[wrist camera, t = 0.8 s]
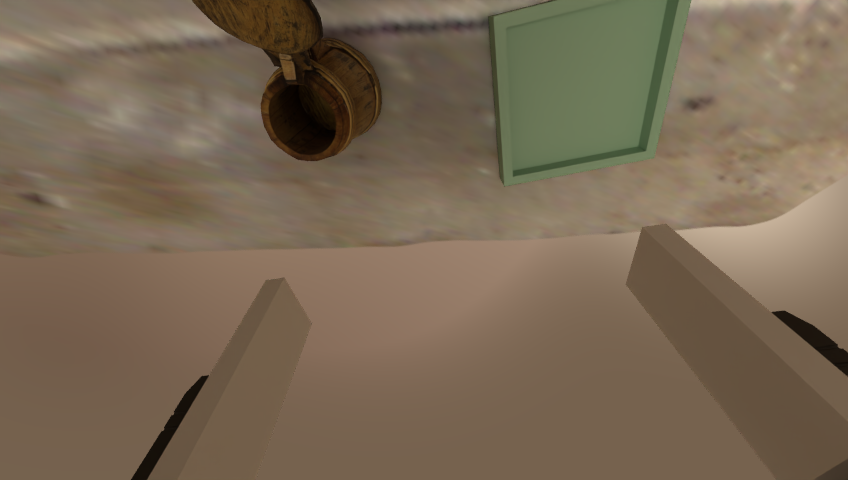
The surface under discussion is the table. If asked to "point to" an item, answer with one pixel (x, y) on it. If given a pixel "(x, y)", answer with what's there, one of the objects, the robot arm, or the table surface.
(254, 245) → the table surface
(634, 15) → the green tray
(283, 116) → the wooden mug
